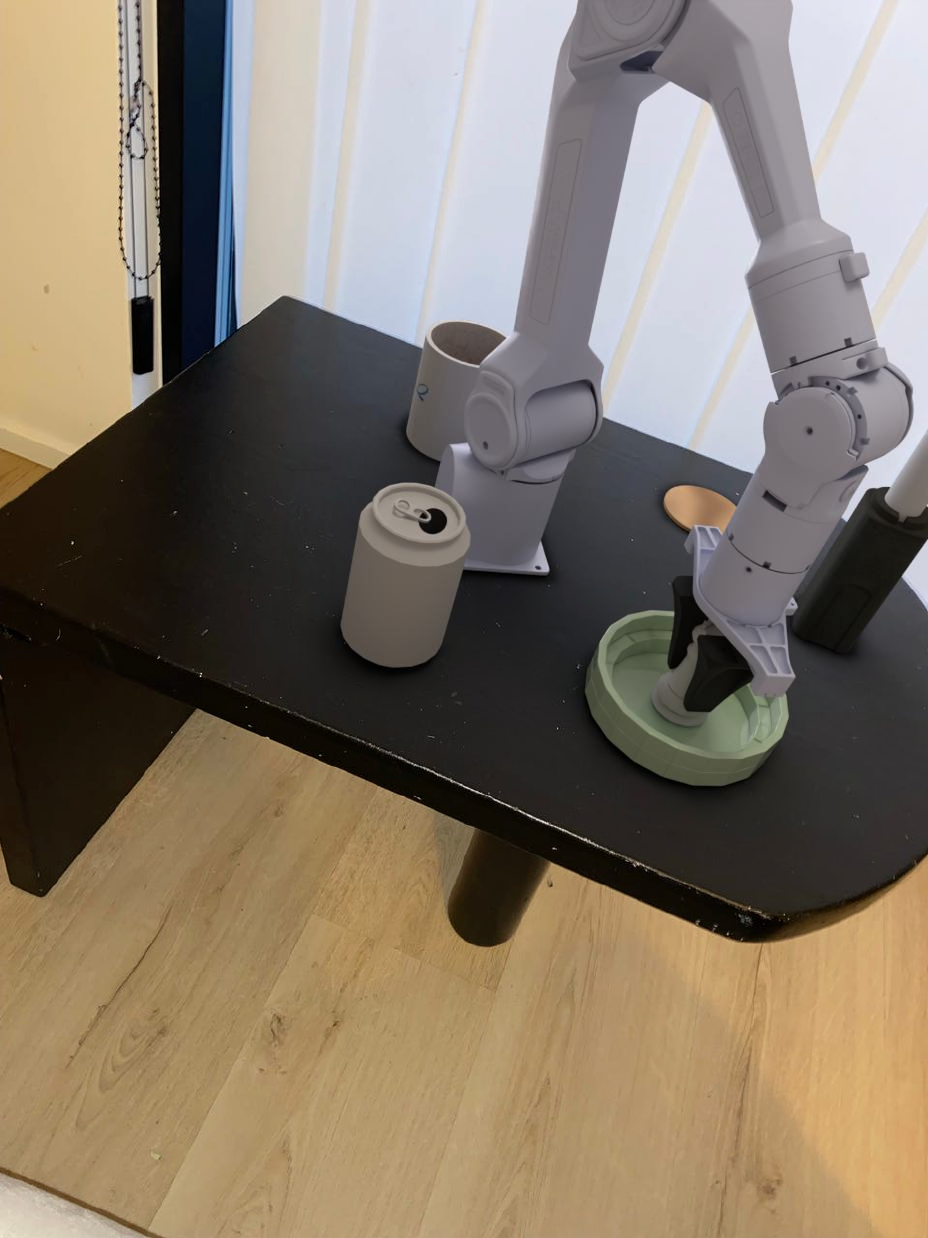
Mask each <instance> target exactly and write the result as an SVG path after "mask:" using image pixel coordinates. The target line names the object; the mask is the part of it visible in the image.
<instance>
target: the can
mask: <svg viewBox="0 0 928 1238" xmlns="http://www.w3.org/2000/svg"><path fill="white" fill-rule="evenodd" d="M470 536H471V534H470V532H469V530H468V527H467V525H466V515H465V513H464V511H463V508H462V507H461V506H460V505H459V503H458V502H457V501H456V500H455V499H454V498H453V497H451V496H450V495H448V494H447V493H445V492H444V491H442V490H439V489H437V488H435V486H431V485H428V484H424V483H420V482H419V483H418V482H400V483H395V484H389V485H387V486H386V487H384V488H382V489H380V490H378V492H377V493H376V494H375V495H374V497H373V498H372V501H371V502H369V503H368V504H367V505H366V506H365V508H363V509H362V511H361V512H360V516H359V520H358V526H357V532H356V538H355V543H354V548H353V554H352V560H351V565H350V571H349V575H348V582H347V587H346V591H345V593H346V594H345V598H344V603H343V604H344V605H343V609H342V614H341V615H342V616H341V620H340V629H341V633H342V637H343V639H344V640H345V642H346V643H347V644H348V646H349V647H350V648H351V650H353V651H354V652H355V653H357V654H358V655H359V656H360V657H362V658H363V659H365V660H367V661H369V662H371V663H374V664H376V665H378V666H383V667H387V668H408V667H409V668H410V667H414V666H417V665H420V664H424V663H426V662H427V661H429V660H431V659H432V658H433V657H434V656H436V654H437V653H438V652H439V650H440V648H441V646H442V644H443V641H444V637H445V634H446V630H447V628H448V623H449V620H450V617H451V613H452V610H453V607H454V603H455V599H456V596H457V592H458V588H459V585H460V581H461V578H462V575H463V571H464V570H463V568H464V564H465V561H466V557H467V554H468V550H469V547H470Z"/></svg>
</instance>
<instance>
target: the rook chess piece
mask: <svg viewBox="0 0 928 1238" xmlns="http://www.w3.org/2000/svg"><path fill="white" fill-rule="evenodd" d="M692 635H693V640H694V642H693V643H691V644H689V646H688V648H687V651H688V654H687V656H686V657H685V658H684V660H683V661H682V662H681V663H680V665H679V666H678V667H677V668H675V669H673V670H671V671H669V672H667V673H665V674H664V675H662V676H661V677H660V679H659V680H658V682H657V684H656V685H655V686H654V688H653V689H652V691H651V695H652V702H653V704H654V706H655V708H656V710H657V712H658V713H659V714H660V715H661V716H662V717H663V718H664V719H665V720H667V721H669V722H671V723H672V724H674V725H679V726H683V727H687V726H696V725H699V724H701V723H702V722H704V721H706V719H707V717H708V714H709V712H688V711H686V710H685V707H684V705H683V702H684V696H685V693H686V691H687V688H688V686H689V684H690V681H691V679H692V677H693V674H694V671H695V668H696V663H697V657H698V643H697V638H698V636H699V635H717V636H725V635H724V634H723V633H722V632H721V631H720V630H719V629H718V628H717V627H716V625H715V624H714V623H713V622H712V621H711V620H710V619H709V620H708V621H704V623H703V624H700V625H698V626H696V627H695V628H694V630H693V632H692Z"/></svg>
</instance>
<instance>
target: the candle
mask: <svg viewBox="0 0 928 1238" xmlns="http://www.w3.org/2000/svg"><path fill="white" fill-rule="evenodd" d="M927 542H928V429H926V432H924V435H923V436H922V437H921V438H920V441H919V442H918V444H917V445H916V447H915V449H914V450H913V452H912V453H911V454H910V456H909V457H908V459H907V460H906V463H905V464H904V465H903V467H902V469H901V470H900V472H899V474H898V475H897V476H896V478H895V479H894V481H893V482H892V484H891V485H890V486H880V487H870V488H868V489H866V490H865V492H864V494H863V495H862V497H861V498H860V500H859V501H858V504H857V505H856V507H855V508H854V509H853V511H852V513H851V515H850V516H849V517H848V519H847V521H846V522H845V524H844V525H843V528H842V529H841V530H840V532H839V533H838V535H837V537H836V539H835V540H834V542H833V543H832V545H831V547H830V548H829V550H828V551H827V553H826V554H825V556H824V558H823V560H822V561H821V563H820V564H819V566H818V568H817V569H816V571H815V573H814V574H813V576H812V578H811V579H810V580H809V582H808V584H807V585H806V587H805V588H804V590H803V591H802V593H801V595H800V597H799V598H798V600H797V601H796V604H797V606H798V608H797V609H796V611H795V612H794V614H793V615H792V624H791V627H792V631H793V633H794V634H795V635H796V636H797V637H798V638H800V639H802V640H804V641H809V642H812V643H814V644H818V645H819V646H823V647H824V648H828V649H831V650H832V651H833V652H835V653H837V654H847V653H849V652H850V650H851V649H852V648H853V646H854V645H855V643H856V642H857V640H859V638H860V636H861V635H862V633H863V632H864V631H865V630H866V628H867V626H868V625H869V623H870V622H871V621H872V620H873V618H874V616H876V614H877V612H878V611H879V609H880V608H881V607H882V605H883V604H884V603H885V601H886V600H887V598H888V597H889V595H890V594H891V592H892V591H893V590H894V589H895V587H896V585H897V584H898V582H899V581H900V580H901V578H902V577H903V576H904V574H905V573H906V571H907V570H908V569H909V567H910V565H911V564H912V562H914V560H915V559H916V557H917V556H918V554H919V553H920V551H921V550H922V548H924V546H925V544H926V543H927Z"/></svg>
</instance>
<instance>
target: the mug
mask: <svg viewBox="0 0 928 1238" xmlns="http://www.w3.org/2000/svg"><path fill="white" fill-rule="evenodd" d="M508 336H509V335H508V334H506V333H505V332H503V331H501V330H499V329H497V328H495V327H493V326H490V325H488V324H485V323H482V322H479V321H475V320H468V319H459V318H458V319H455V318H453V319H452V318H450V319H442V320H439V321H436V322H433V323H432V324H430V325H429V326H428V328H427V329H426V330H425V337H424V341H423V346H422V351H421V356H420V360H419V364H418V365H419V366H418V370H417V375H416V380H415V386H414V389H413V390H414V391H413V395H412V400H411V404H410V405H411V406H410V410H409V415H408V420H407V425H406V437H407V439H408V440H409V443H411V445H412V446H413V447H414V448H415V449H416V450H418V451H419V452H420V453H422V454H423V455H425V456H426V457H428V458H431V459H433V460H436V461H438V462H441V459H442V455H443V452H444V450H445V448H446V446H447V445H449V444H461V443H468V442H467V440H466V436H465V432H464V423H463V416H464V408H465V405H466V402H467V399H468V397H469V396H470V394H471V393H472V391H473V390H474V388H475V386H476V383H477V379H478V373H479V366H480V364H481V362H482V361H483V360H484V359H485V358H486V357H487V356H488V355H489V354H490V353H491V352H492V351H494V350H495V349H496V348H497V347H498V346H499V345H500V344H501V343H502V342H503V341H504V340H505V339H506V338H507V337H508Z"/></svg>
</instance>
